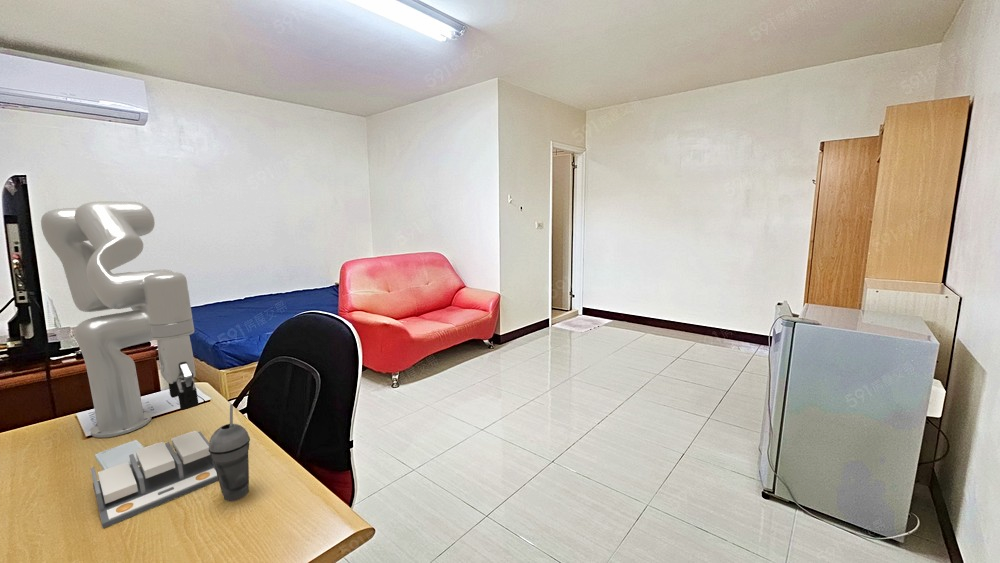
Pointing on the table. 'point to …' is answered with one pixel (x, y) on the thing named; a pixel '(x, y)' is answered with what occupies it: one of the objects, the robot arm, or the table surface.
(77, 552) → the table surface
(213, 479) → the switch console
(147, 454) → the white rectangular block
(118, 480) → the button
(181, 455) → the button
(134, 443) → the hard drive
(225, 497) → the beverage cup
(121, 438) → the table surface
